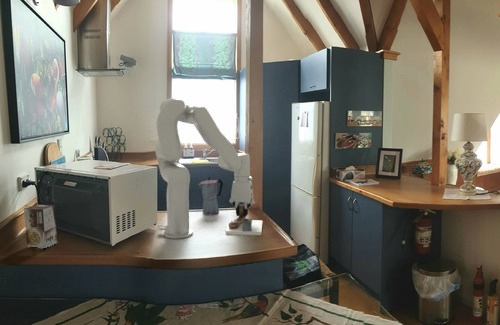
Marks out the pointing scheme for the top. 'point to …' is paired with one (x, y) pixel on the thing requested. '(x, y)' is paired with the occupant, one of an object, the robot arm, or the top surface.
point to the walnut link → (240, 218)
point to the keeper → (245, 224)
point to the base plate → (238, 231)
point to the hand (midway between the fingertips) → (241, 215)
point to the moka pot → (210, 195)
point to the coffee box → (40, 226)
